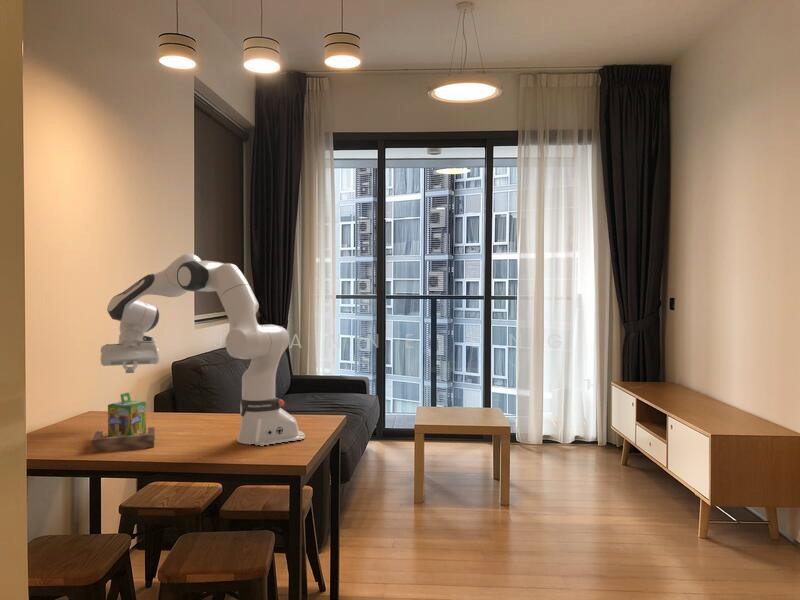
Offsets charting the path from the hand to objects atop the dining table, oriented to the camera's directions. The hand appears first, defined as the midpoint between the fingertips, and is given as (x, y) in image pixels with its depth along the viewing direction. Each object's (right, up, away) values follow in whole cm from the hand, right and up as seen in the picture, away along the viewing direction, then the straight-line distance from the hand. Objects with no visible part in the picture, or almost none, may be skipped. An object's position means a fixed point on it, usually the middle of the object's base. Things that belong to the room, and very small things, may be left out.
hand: (129, 372), depth 221 cm
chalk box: (+5, -21, -13) cm, 25 cm away
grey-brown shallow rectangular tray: (+10, -21, -26) cm, 35 cm away
